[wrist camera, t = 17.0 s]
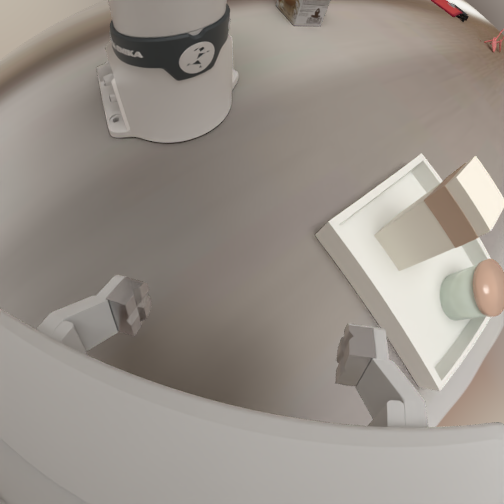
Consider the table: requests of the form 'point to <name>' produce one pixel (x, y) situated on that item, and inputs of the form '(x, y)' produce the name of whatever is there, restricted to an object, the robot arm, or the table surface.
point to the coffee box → (304, 11)
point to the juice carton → (444, 217)
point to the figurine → (495, 42)
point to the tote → (405, 278)
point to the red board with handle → (451, 9)
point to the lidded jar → (474, 291)
